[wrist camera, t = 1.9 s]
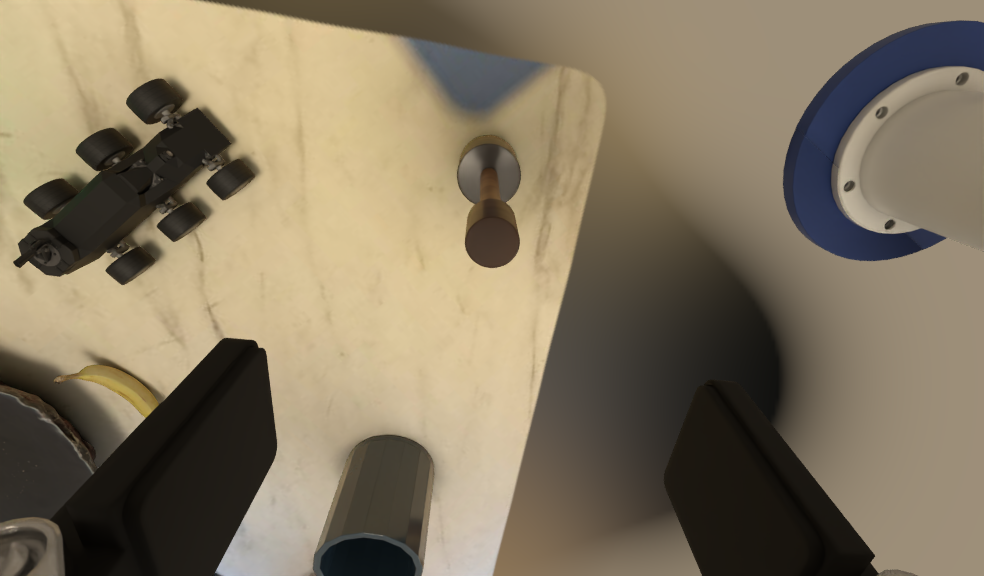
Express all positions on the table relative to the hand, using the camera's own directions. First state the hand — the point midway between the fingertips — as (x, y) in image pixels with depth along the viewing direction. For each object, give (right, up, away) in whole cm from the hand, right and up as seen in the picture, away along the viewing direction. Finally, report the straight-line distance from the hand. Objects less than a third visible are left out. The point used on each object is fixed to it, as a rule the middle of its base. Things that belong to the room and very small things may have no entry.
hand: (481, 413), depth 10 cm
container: (-11, -16, +39) cm, 44 cm away
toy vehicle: (-26, +11, +26) cm, 38 cm away
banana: (-34, -6, +34) cm, 48 cm away
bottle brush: (0, +12, +25) cm, 28 cm away
